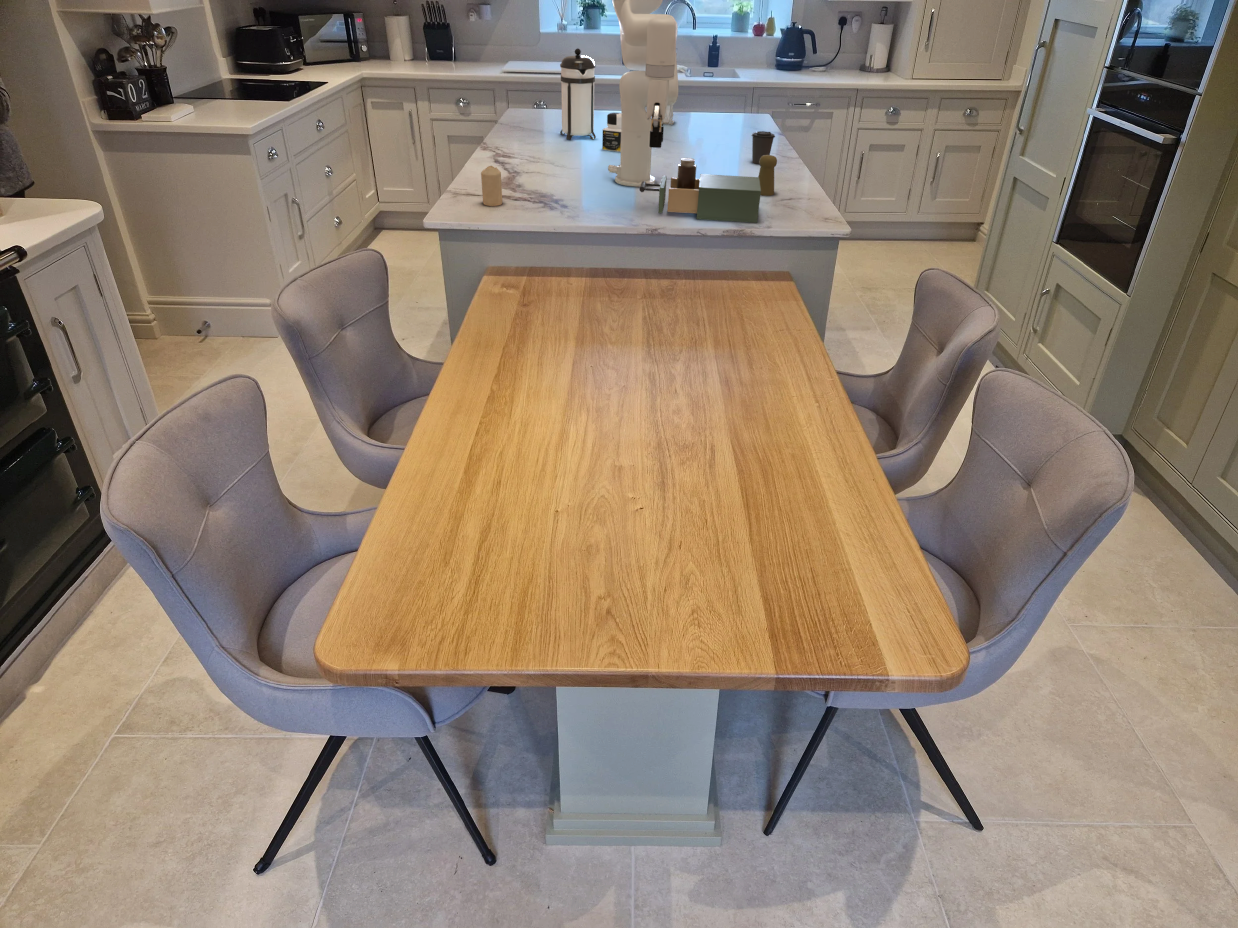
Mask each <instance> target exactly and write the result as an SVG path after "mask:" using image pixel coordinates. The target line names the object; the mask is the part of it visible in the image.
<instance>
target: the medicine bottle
mask: <svg viewBox="0 0 1238 928" xmlns="http://www.w3.org/2000/svg"><path fill="white" fill-rule="evenodd" d="M606 126H607V127H604V128H603V129H602V143H601V145H602V146H601V149H602V151H610V152H617V153H621V112H610V113H608V114H607V115H606Z"/></svg>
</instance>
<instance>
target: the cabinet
mask: <svg viewBox="0 0 1238 928" xmlns="http://www.w3.org/2000/svg"><path fill="white" fill-rule="evenodd" d="M699 175H700V176H699V179H700V183H699V195H698V207H697V213H696V220H704V221H719V222H720V221H722V222H734V223H735V222H737V223H751V224H752V223H753V224H757V223H758V218H759V210H760V203H761V196H762V195H761V188H760V181H759V177H758V176H744V175H727V174H726V175H725V174H724V175H723V174H709V173H700V174H699Z"/></svg>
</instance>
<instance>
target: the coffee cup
mask: <svg viewBox="0 0 1238 928" xmlns="http://www.w3.org/2000/svg"><path fill="white" fill-rule="evenodd" d="M775 138H776V136H775V134H774V133H772V132H771V131H764V130H760V131H759V130H758V131H754V132H752V133H751V139H752V144H751V145H752V149H751V155H752V156H751V162H752V164H754V165H759V166H760V163H759V161H760V158H761V157H762V156H763V155H771V152H772V147H773V143H774V139H775Z"/></svg>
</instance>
